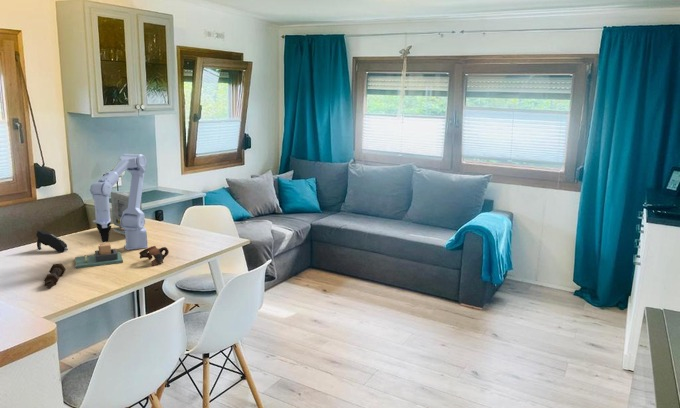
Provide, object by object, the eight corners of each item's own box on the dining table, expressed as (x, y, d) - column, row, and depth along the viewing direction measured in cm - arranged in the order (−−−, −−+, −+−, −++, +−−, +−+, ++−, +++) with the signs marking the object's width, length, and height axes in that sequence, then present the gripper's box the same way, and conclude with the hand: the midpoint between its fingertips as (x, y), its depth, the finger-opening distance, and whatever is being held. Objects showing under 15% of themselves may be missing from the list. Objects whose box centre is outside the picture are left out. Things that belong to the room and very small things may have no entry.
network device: (147, 234, 262) (145, 196, 258) (131, 237, 255) (128, 199, 251) (124, 225, 278) (121, 189, 274) (108, 228, 272) (105, 192, 268)
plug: (110, 255, 223) (109, 242, 222) (111, 258, 220) (110, 245, 219) (99, 257, 221) (98, 244, 220) (99, 260, 218) (98, 246, 217)
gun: (59, 263, 232) (66, 245, 229) (30, 246, 233) (37, 228, 230) (64, 261, 235) (71, 244, 232) (35, 244, 236) (42, 226, 233)
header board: (120, 254, 229) (119, 246, 229) (122, 262, 218) (122, 254, 217) (75, 259, 221) (74, 251, 220) (76, 268, 210) (75, 260, 209)
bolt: (47, 293, 188) (57, 278, 202) (59, 286, 189) (68, 271, 203) (37, 281, 186) (47, 267, 200) (49, 274, 187) (59, 260, 201)
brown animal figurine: (146, 269, 212) (138, 251, 213) (144, 272, 220) (136, 255, 221) (173, 257, 219) (165, 240, 219) (170, 260, 227) (162, 244, 227)
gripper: (91, 207, 221) (93, 237, 224) (92, 214, 208) (95, 245, 211) (109, 205, 224) (111, 235, 227) (111, 212, 212) (114, 243, 214)
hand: (105, 240), depth 219 cm, fingers open, 4 cm apart
